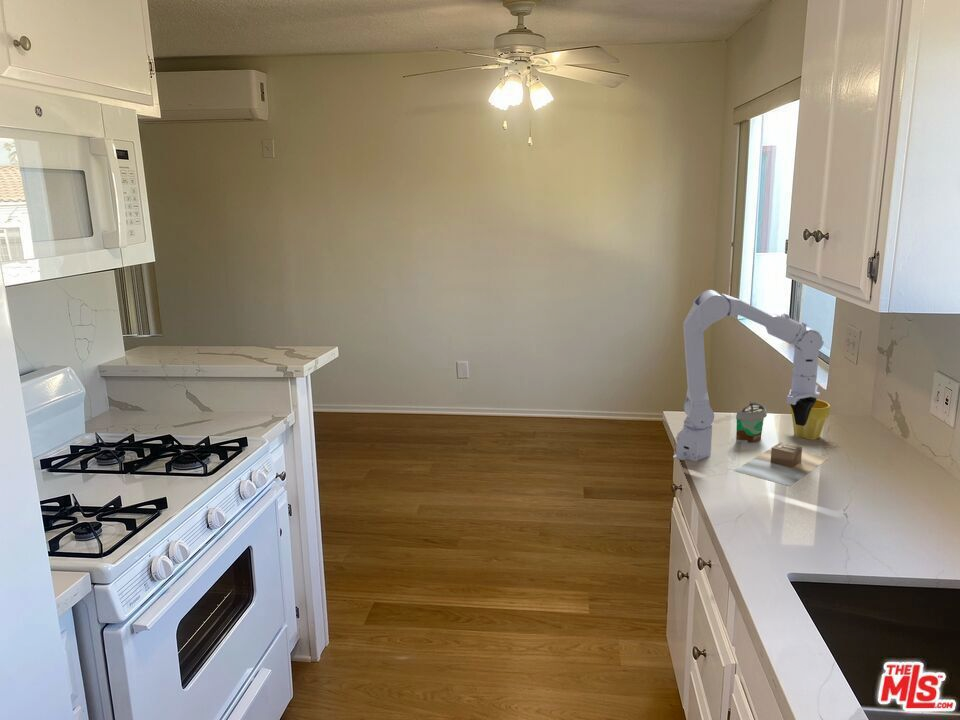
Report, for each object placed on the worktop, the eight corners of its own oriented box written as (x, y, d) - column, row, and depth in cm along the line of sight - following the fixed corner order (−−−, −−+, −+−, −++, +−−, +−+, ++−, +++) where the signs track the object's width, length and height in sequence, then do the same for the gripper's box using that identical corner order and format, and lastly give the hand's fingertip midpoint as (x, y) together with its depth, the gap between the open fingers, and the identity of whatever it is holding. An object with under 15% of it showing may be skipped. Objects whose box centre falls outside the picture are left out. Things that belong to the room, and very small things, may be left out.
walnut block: (791, 467, 181) (793, 452, 180) (770, 462, 184) (771, 447, 183) (801, 461, 184) (802, 446, 183) (779, 456, 188) (780, 441, 187)
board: (789, 490, 170) (789, 486, 170) (733, 474, 180) (733, 470, 180) (829, 461, 186) (829, 458, 186) (775, 448, 196) (776, 445, 196)
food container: (757, 450, 195) (759, 415, 193) (734, 446, 199) (736, 411, 196) (770, 437, 205) (772, 404, 202) (748, 433, 208) (750, 400, 206)
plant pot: (829, 432, 207) (832, 400, 205) (824, 444, 199) (827, 410, 196) (791, 427, 213) (793, 395, 210) (784, 438, 204) (787, 405, 202)
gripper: (808, 382, 176) (804, 435, 180) (831, 371, 186) (827, 421, 189) (780, 377, 181) (776, 428, 185) (804, 366, 191) (800, 415, 194)
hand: (800, 424), depth 187 cm, fingers closed
